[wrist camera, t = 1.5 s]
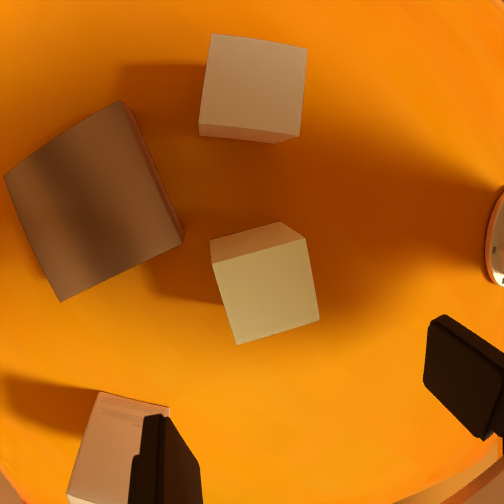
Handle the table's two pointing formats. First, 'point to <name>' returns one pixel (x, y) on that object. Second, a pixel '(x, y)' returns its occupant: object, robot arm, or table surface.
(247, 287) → the beige block
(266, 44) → the grey block
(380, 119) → the table surface
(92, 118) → the walnut base
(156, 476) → the robot arm
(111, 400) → the supplement box
